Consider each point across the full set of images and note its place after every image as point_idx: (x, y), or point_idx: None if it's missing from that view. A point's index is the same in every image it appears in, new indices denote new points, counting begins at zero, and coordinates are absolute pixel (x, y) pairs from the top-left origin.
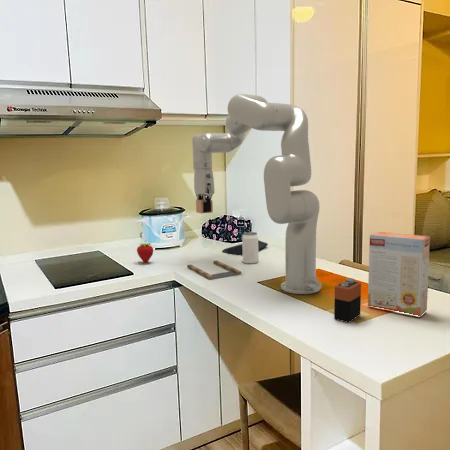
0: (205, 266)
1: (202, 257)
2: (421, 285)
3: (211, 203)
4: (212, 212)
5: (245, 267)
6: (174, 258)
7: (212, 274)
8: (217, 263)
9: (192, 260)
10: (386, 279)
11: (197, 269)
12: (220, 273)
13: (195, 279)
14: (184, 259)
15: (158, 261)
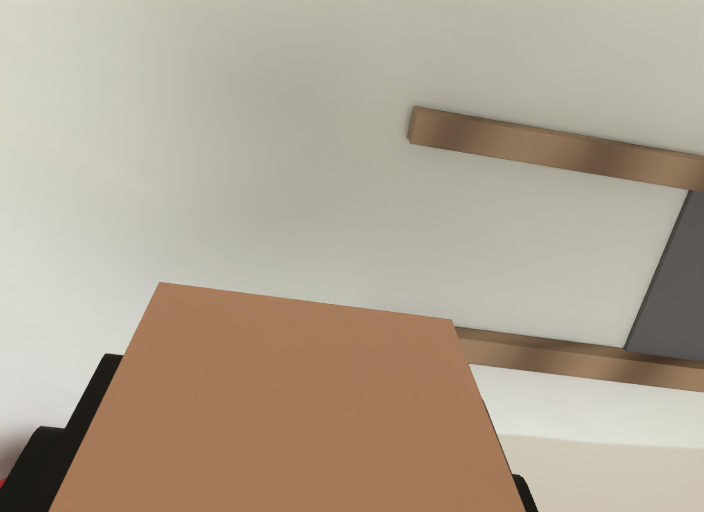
0: (425, 227)
1: (134, 66)
2: None
3: (501, 500)
4: (450, 325)
5: (701, 9)
6: (20, 267)
7: (642, 320)
8: (484, 154)
9: (183, 197)
10: None
11: (521, 361)
12: (669, 271)
13: (617, 424)
14: (107, 226)
15: (49, 393)
